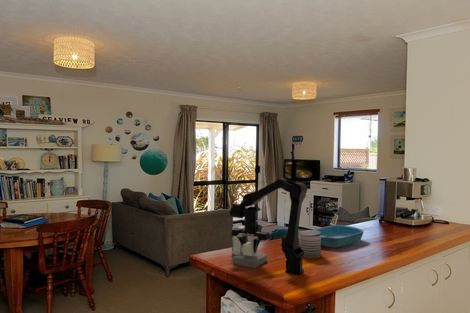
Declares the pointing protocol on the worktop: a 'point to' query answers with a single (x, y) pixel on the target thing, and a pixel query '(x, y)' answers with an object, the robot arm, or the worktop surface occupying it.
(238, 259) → the plinth
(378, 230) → the worktop surface
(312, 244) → the can
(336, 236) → the casserole dish
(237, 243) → the syrup box
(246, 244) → the cube
